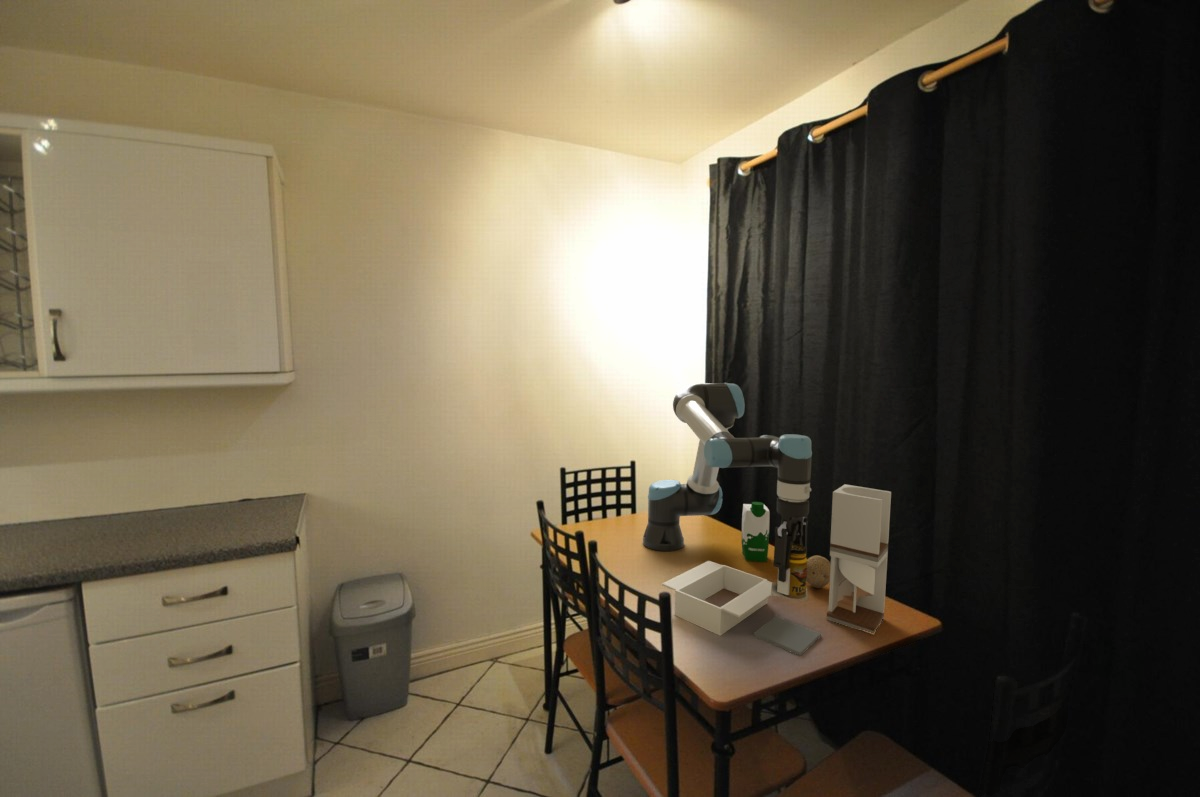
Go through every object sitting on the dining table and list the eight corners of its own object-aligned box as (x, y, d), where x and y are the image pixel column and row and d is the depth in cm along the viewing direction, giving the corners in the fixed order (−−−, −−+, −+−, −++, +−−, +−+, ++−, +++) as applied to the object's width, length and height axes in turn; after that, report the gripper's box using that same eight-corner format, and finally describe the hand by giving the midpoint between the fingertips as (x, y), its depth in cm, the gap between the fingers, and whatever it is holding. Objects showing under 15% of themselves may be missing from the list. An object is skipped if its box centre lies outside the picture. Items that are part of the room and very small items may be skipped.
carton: (660, 608, 143) (660, 584, 143) (709, 581, 160) (709, 560, 160) (737, 643, 126) (738, 616, 125) (783, 609, 143) (784, 585, 142)
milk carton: (743, 562, 176) (745, 504, 174) (739, 551, 185) (741, 497, 183) (770, 563, 175) (772, 505, 173) (764, 553, 184) (766, 498, 182)
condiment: (807, 602, 123) (809, 553, 122) (770, 595, 126) (772, 548, 125) (807, 589, 130) (809, 543, 129) (771, 583, 133) (773, 538, 132)
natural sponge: (830, 598, 150) (831, 564, 149) (798, 590, 155) (799, 558, 154) (834, 586, 158) (835, 554, 157) (803, 579, 162) (804, 548, 162)
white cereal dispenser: (826, 620, 138) (832, 491, 135) (838, 605, 146) (844, 484, 143) (873, 635, 130) (881, 500, 127) (883, 619, 138) (891, 491, 135)
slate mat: (753, 635, 130) (753, 632, 130) (776, 618, 138) (776, 615, 138) (800, 655, 121) (800, 652, 121) (821, 636, 130) (821, 633, 130)
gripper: (790, 509, 117) (786, 606, 119) (824, 493, 130) (820, 581, 132) (759, 502, 122) (756, 596, 124) (795, 488, 136) (792, 572, 138)
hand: (789, 588), depth 128 cm, fingers closed on condiment, 6 cm apart
